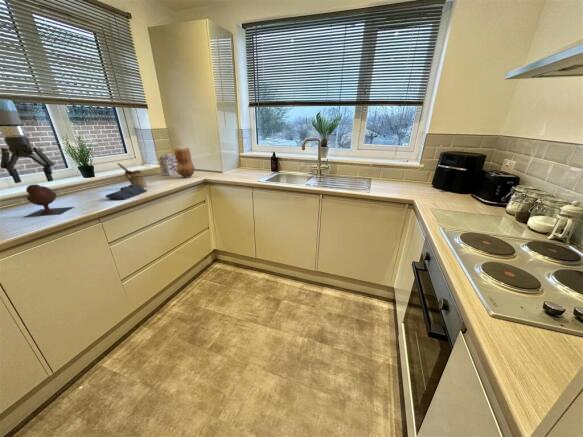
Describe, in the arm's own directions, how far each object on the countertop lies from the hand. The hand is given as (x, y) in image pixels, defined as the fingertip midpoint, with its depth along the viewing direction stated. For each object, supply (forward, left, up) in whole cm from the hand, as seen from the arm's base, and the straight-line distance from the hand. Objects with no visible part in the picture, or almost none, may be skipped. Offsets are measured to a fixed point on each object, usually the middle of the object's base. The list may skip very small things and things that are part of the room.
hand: (34, 181), depth 118 cm
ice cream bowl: (0, 0, -16) cm, 16 cm away
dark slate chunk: (+27, +26, -17) cm, 41 cm away
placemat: (0, 0, -16) cm, 16 cm away
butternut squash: (+55, +72, -17) cm, 92 cm away
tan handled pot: (+25, +46, -17) cm, 55 cm away
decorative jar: (+39, +88, -17) cm, 98 cm away
